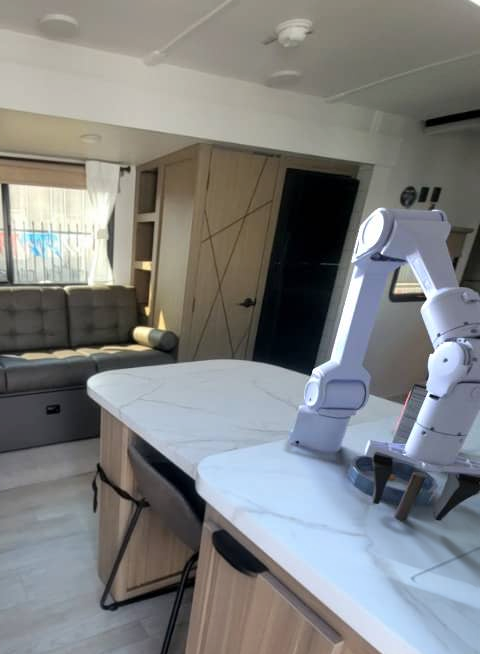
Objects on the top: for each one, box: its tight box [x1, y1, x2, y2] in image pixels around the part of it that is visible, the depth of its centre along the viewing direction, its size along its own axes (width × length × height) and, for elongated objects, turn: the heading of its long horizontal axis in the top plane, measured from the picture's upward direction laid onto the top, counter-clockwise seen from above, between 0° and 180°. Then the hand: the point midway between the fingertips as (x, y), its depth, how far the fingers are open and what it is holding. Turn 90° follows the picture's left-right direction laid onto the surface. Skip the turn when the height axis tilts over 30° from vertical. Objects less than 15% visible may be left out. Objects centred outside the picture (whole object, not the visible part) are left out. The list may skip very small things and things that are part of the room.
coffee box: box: [390, 379, 428, 444], centre depth 78 cm, size 9×6×16 cm
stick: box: [394, 472, 427, 522], centre depth 60 cm, size 3×3×9 cm
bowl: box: [346, 454, 439, 508], centre depth 70 cm, size 12×12×4 cm
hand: (404, 508), depth 61 cm, fingers open, 7 cm apart
